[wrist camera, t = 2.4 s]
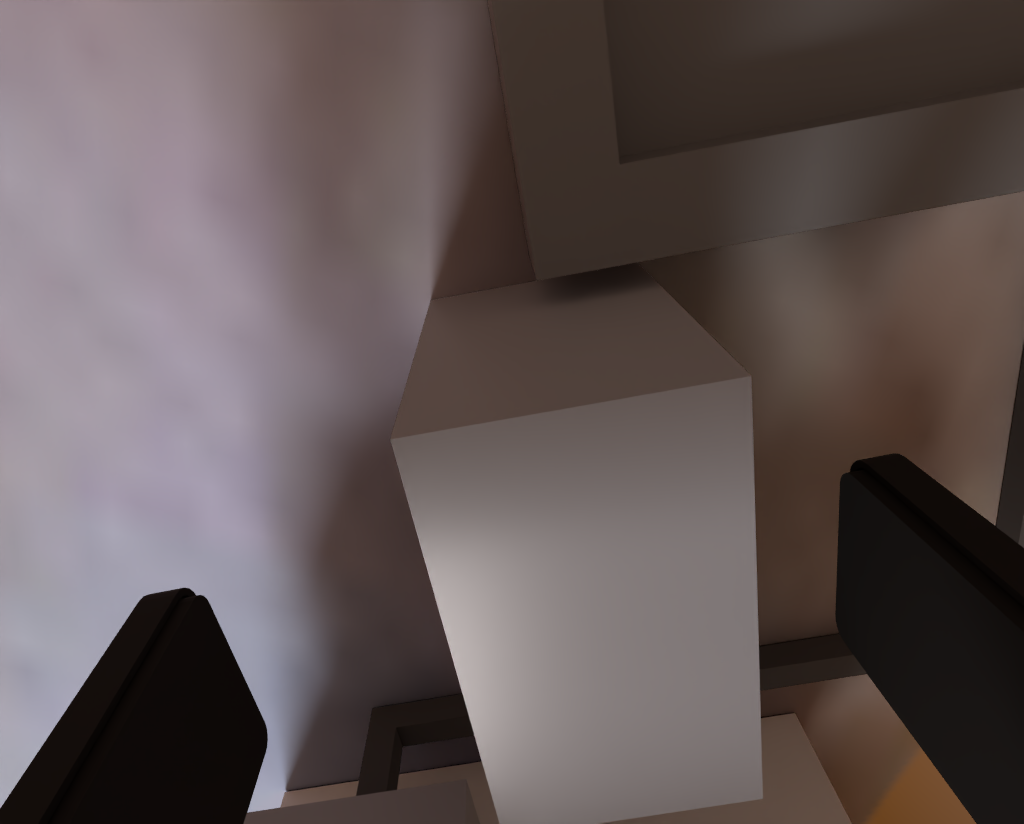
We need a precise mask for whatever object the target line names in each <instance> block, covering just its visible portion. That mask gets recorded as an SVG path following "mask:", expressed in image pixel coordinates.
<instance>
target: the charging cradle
mask: <svg viewBox="0 0 1024 824" xmlns="http://www.w3.org/2000/svg"><path fill="white" fill-rule="evenodd" d="M487 3H488V9H489V15H490V21H491V27H492V33H493V39H494V45H495V51H496V57H497V63H498V69H499V76H500V82H501V88H502V94H503V100H504V106H505V112H506V118H507V124H508V130H509V136H510V142H511V148H512V155H513V161H514V167H515V173H516V179H517V185H518V191H519V197H520V203H521V209H522V215H523V221H524V227H525V234H526V240H527V246H528V252H529V257H530V260H531V264H532V267H533V270H534V273H535V277H536V280H537V281H538V280H543V279H549V278H554V277H560V276H565V275H570V274H576V273H581V272H587V271H592V270H598V269H603V268H609V267H614V266H619V265H625V264H630V263H636V262H641V261H647V260H652V259H658V258H663V257H668V256H674V255H679V254H685V253H690V252H696V251H701V250H707V249H712V248H717V247H723V246H728V245H734V244H739V243H745V242H750V241H756V240H761V239H766V238H772V237H777V236H783V235H788V234H794V233H799V232H805V231H810V230H815V229H821V228H826V227H832V226H837V225H843V224H848V223H854V222H859V221H864V220H870V219H875V218H881V217H886V216H892V215H897V214H903V213H908V212H913V211H919V210H924V209H930V208H935V207H941V206H946V205H952V204H957V203H962V202H968V201H973V200H979V199H984V198H990V197H995V196H1001V195H1006V194H1011V193H1017V192H1022V191H1024V0H487Z"/></svg>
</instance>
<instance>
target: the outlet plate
mask: <svg viewBox="0 0 1024 824" xmlns="http://www.w3.org/2000/svg"><path fill="white" fill-rule="evenodd" d="M761 746H762V784H763V799H759V800H752V801H745V802H739V803H732V804H725V805H719V806H712V807H705V808H699V809H692V810H685V811H679V812H672V813H665V814H659V815H652V816H645V817H639V818H632V819H626V820H619V821H612V822H606V823H599V824H852V823H851V821H850V819H849V817H848V815H847V813H846V811H845V809H844V807H843V805H842V803H841V802H840V800H839V798H838V796H837V794H836V792H835V790H834V788H833V786H832V784H831V782H830V780H829V778H828V776H827V774H826V772H825V770H824V768H823V767H822V765H821V763H820V761H819V759H818V757H817V755H816V753H815V751H814V749H813V747H812V745H811V743H810V741H809V739H808V737H807V735H806V733H805V732H804V730H803V728H802V726H801V724H800V722H799V720H798V718H797V716H796V714H795V713H792V714H785V715H779V716H772V717H766V718H761ZM358 783H359V781H353V782H347V783H340V784H334V785H328V786H321V787H315V788H308V789H302V790H295V791H289V792H285V793H284V797H283V800H282V804H281V807H280V808H275V809H269V810H262V811H256V812H249V813H247V814H246V817H245V821H244V824H500V823H499V820H498V816H497V813H496V809H495V806H494V802H493V799H492V795H491V792H490V788H489V785H488V781H487V778H486V774H485V771H484V767H483V764H482V762H476V763H469V764H463V765H456V766H450V767H444V768H437V769H431V770H424V771H418V772H411V773H405V774H399V779H398V786H397V790H392V791H385V792H379V793H373V794H366V795H360V796H356V793H357V788H358Z"/></svg>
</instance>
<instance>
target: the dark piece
mask: <svg viewBox="0 0 1024 824" xmlns="http://www.w3.org/2000/svg"><path fill="white" fill-rule="evenodd" d="M996 527H997V528H998V529H1000V530H1001V531H1002V532H1004V533H1005V534H1006V535H1008V536H1009V537H1010V538H1012V539H1013V540H1014V541H1015V542H1017V543H1018V544H1019V545H1021V546H1022V547H1023V548H1024V351H1023V357H1022V364H1021V370H1020V376H1019V383H1018V389H1017V396H1016V402H1015V409H1014V415H1013V421H1012V428H1011V434H1010V441H1009V447H1008V454H1007V460H1006V467H1005V473H1004V479H1003V486H1002V492H1001V499H1000V505H999V512H998V518H997V525H996ZM759 672H760V691H761V690H768V689H774V688H780V687H787V686H793V685H799V684H806V683H812V682H819V681H825V680H831V679H838V678H844V677H850V676H857V675H863V674H867V673H866V671H865V670H864V669H863V667H862V666H861V665H860V663H859V662H858V661H857V659H856V658H855V656H854V655H853V654H852V652H851V651H850V650H849V648H848V647H847V645H846V644H845V643H844V641H843V639H842V637H841V635H840V634H836V635H830V636H824V637H817V638H811V639H805V640H799V641H792V642H786V643H780V644H774V645H767V646H761V647H759ZM468 736H474V732H473V729H472V725H471V722H470V718H469V715H468V711H467V708H466V704H465V701H464V697H463V694H460V695H454V696H447V697H441V698H435V699H428V700H422V701H416V702H410V703H403V704H397V705H391V706H385V707H378V708H373V709H372V714H371V719H370V725H369V730H368V735H367V740H366V746H365V751H364V756H363V761H362V767H361V772H360V777H359V783H358V788H357V793H356V796H360V795H366V794H373V793H379V792H385V791H392V790H397V786H398V779H399V771H400V763H401V756H402V748H403V747H404V746H410V745H417V744H423V743H429V742H436V741H442V740H449V739H455V738H461V737H468Z"/></svg>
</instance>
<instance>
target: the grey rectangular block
mask: <svg viewBox="0 0 1024 824" xmlns="http://www.w3.org/2000/svg"><path fill="white" fill-rule="evenodd" d="M390 441H391V444H392V448H393V451H394V455H395V458H396V462H397V465H398V469H399V472H400V476H401V480H402V483H403V487H404V490H405V494H406V497H407V501H408V504H409V508H410V511H411V515H412V518H413V522H414V525H415V529H416V532H417V536H418V539H419V543H420V546H421V550H422V553H423V557H424V560H425V564H426V567H427V571H428V574H429V578H430V581H431V585H432V588H433V592H434V595H435V599H436V602H437V606H438V609H439V613H440V616H441V620H442V623H443V627H444V630H445V634H446V637H447V641H448V644H449V648H450V651H451V655H452V658H453V662H454V666H455V669H456V673H457V676H458V680H459V683H460V687H461V690H462V694H463V697H464V701H465V704H466V708H467V711H468V715H469V718H470V722H471V725H472V729H473V732H474V736H475V739H476V743H477V746H478V750H479V753H480V757H481V760H482V764H483V767H484V771H485V774H486V778H487V781H488V785H489V788H490V792H491V795H492V799H493V802H494V806H495V809H496V813H497V816H498V820H499V823H500V824H599V823H606V822H612V821H619V820H626V819H632V818H639V817H645V816H652V815H659V814H665V813H672V812H679V811H685V810H692V809H699V808H705V807H712V806H719V805H725V804H732V803H739V802H745V801H752V800H759V799H763V784H762V746H761V709H760V672H759V634H758V597H757V560H756V522H755V485H754V448H753V410H752V376H751V375H750V374H749V373H748V372H747V371H746V370H745V369H744V368H743V367H742V366H741V365H740V364H739V363H738V362H737V361H736V360H735V359H734V358H733V357H732V356H731V355H730V354H729V353H728V352H727V351H726V350H725V349H724V348H723V347H722V346H721V345H720V344H719V343H718V342H717V341H716V340H715V339H714V338H713V337H712V336H711V335H710V334H709V333H708V332H707V331H706V330H705V329H704V328H703V327H702V326H701V325H700V324H699V323H698V322H697V321H696V320H695V319H694V318H693V317H692V316H691V315H690V314H689V313H688V312H687V311H686V310H685V309H684V308H683V307H682V306H681V305H680V304H679V303H678V302H677V301H676V300H675V299H674V298H673V297H672V296H671V295H670V294H669V293H668V292H667V291H666V290H665V289H664V288H663V287H662V286H661V285H660V284H658V283H657V282H656V281H655V280H654V279H653V278H652V277H651V276H650V275H649V274H648V273H647V272H646V271H645V270H644V269H643V268H642V267H641V266H640V265H639V264H638V263H637V262H636V263H631V264H625V265H620V266H614V267H609V268H603V269H598V270H593V271H587V272H582V273H576V274H571V275H565V276H560V277H554V278H549V279H544V280H538V281H533V282H527V283H522V284H516V285H511V286H505V287H500V288H495V289H489V290H484V291H478V292H473V293H467V294H462V295H456V296H451V297H446V298H440V299H435V300H431V301H430V304H429V308H428V311H427V315H426V318H425V322H424V325H423V328H422V332H421V335H420V339H419V342H418V346H417V349H416V352H415V356H414V359H413V363H412V366H411V370H410V373H409V376H408V380H407V383H406V387H405V390H404V393H403V397H402V400H401V404H400V407H399V411H398V414H397V417H396V421H395V424H394V428H393V431H392V435H391V438H390Z"/></svg>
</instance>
